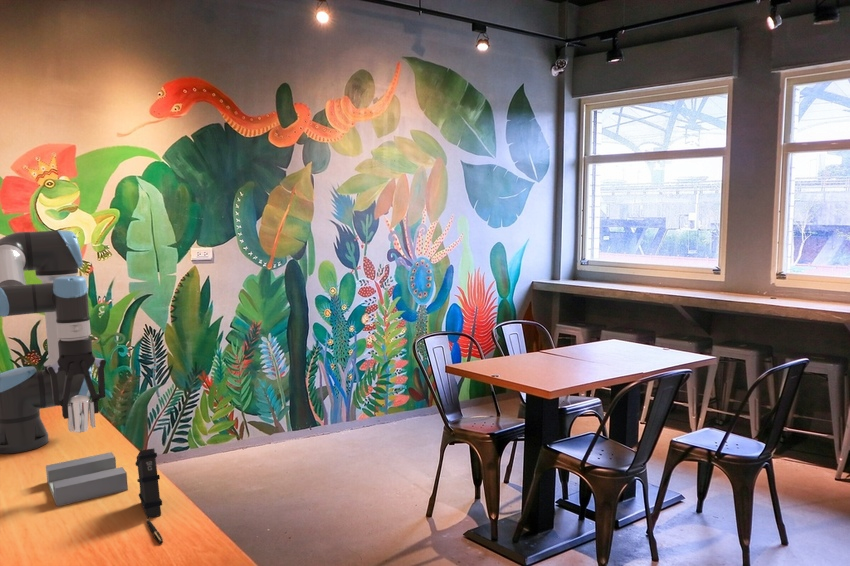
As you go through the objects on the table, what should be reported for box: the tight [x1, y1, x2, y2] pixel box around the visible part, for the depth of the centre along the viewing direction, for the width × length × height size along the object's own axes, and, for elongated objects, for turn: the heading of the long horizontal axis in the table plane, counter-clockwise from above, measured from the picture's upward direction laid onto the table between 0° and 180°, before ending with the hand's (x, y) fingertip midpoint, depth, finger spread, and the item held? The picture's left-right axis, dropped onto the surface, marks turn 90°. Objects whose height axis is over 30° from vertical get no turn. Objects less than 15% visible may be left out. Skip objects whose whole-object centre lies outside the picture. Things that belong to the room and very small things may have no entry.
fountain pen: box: [146, 518, 164, 545], centre depth 152 cm, size 14×1×2 cm, turn 34°
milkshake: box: [70, 390, 91, 434], centre depth 178 cm, size 5×5×10 cm
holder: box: [45, 451, 129, 507], centre depth 179 cm, size 19×16×4 cm
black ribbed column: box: [134, 447, 163, 519], centre depth 164 cm, size 4×13×15 cm, turn 29°
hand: (82, 428), depth 178 cm, fingers closed on milkshake, 4 cm apart
